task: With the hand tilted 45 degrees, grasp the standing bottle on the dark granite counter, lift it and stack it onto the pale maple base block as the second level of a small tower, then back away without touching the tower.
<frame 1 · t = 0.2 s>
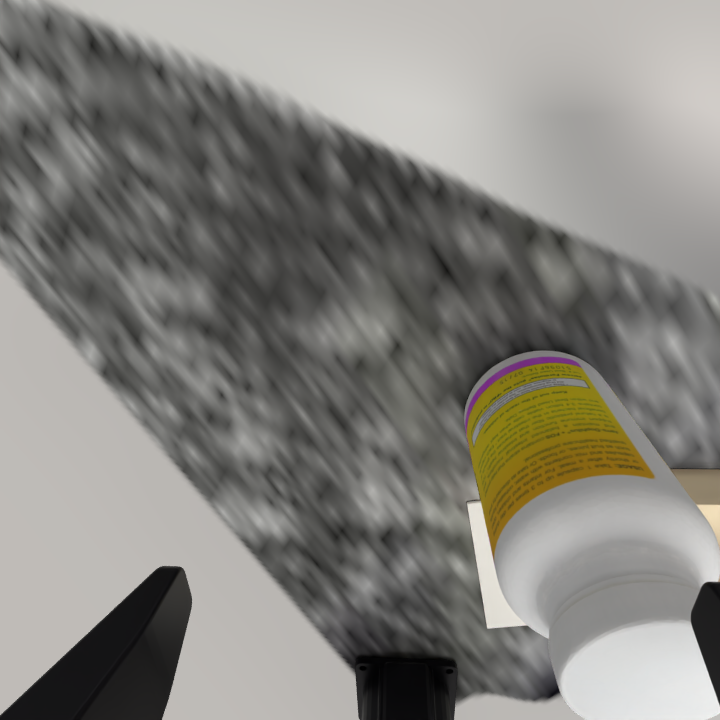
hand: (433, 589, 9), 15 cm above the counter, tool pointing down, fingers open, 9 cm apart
supplement bottle: (532, 406, 25), on the counter
instruction sheet: (550, 561, 29), on the counter
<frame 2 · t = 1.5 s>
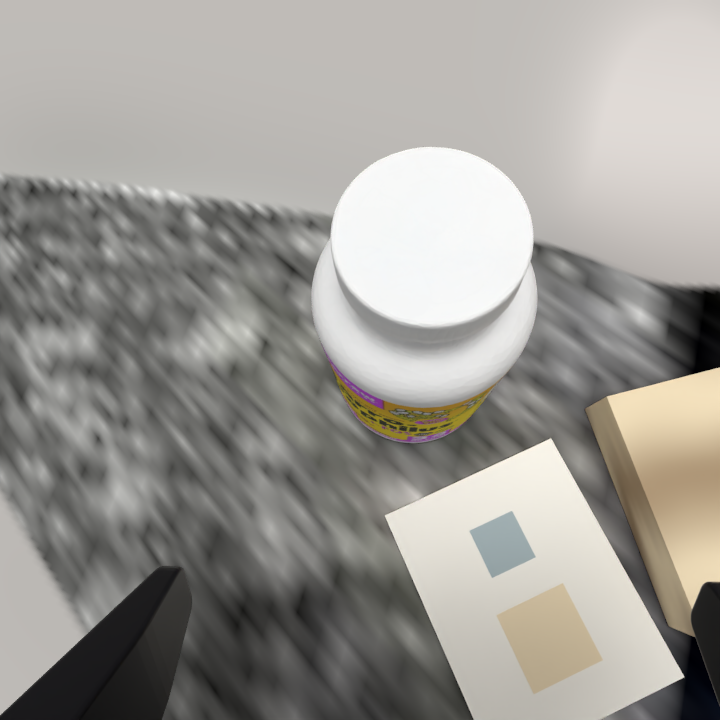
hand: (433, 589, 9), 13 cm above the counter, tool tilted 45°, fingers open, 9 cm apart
supplement bottle: (411, 375, 24), on the counter
instruction sheet: (524, 591, 21), on the counter
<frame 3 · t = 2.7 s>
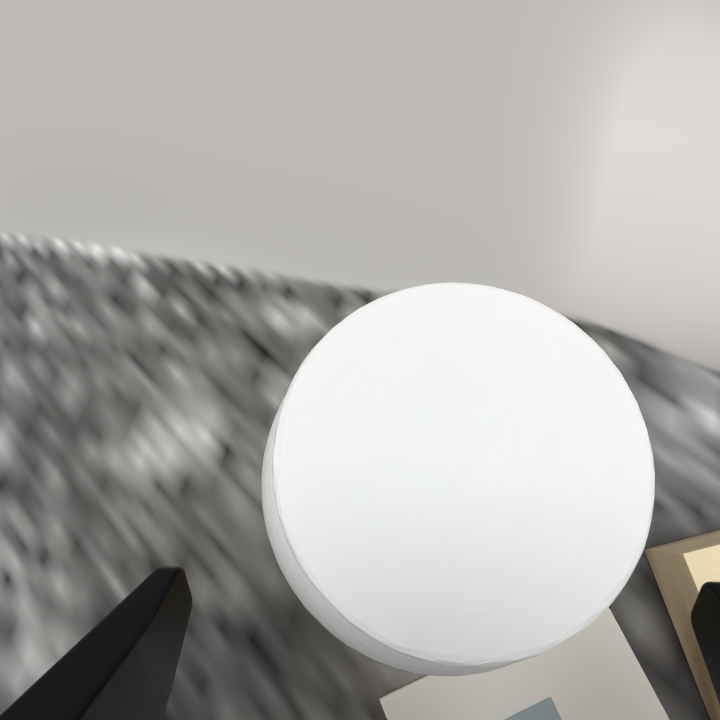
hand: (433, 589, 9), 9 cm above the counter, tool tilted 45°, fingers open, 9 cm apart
supplement bottle: (415, 497, 19), on the counter
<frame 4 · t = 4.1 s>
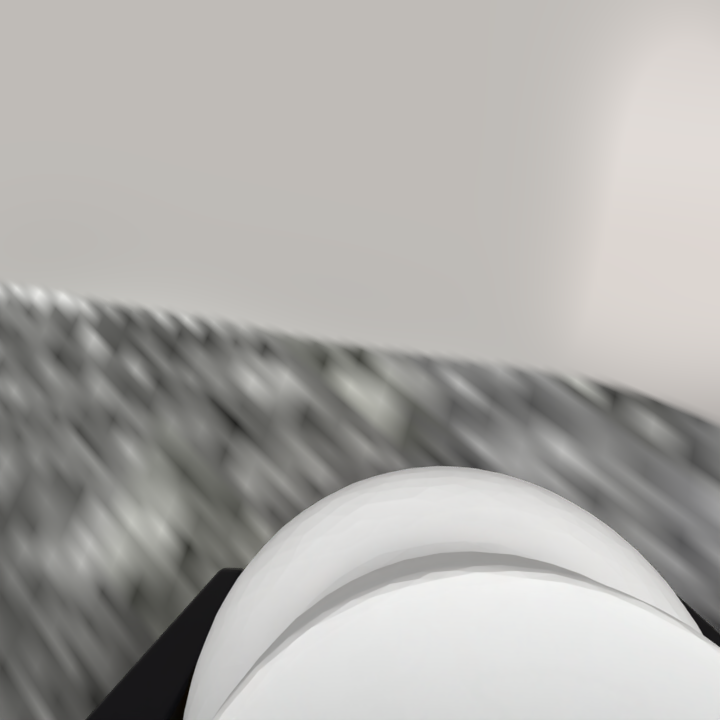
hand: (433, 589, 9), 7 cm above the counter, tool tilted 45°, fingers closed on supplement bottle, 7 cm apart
supplement bottle: (417, 611, 15), on the counter, touching gripper
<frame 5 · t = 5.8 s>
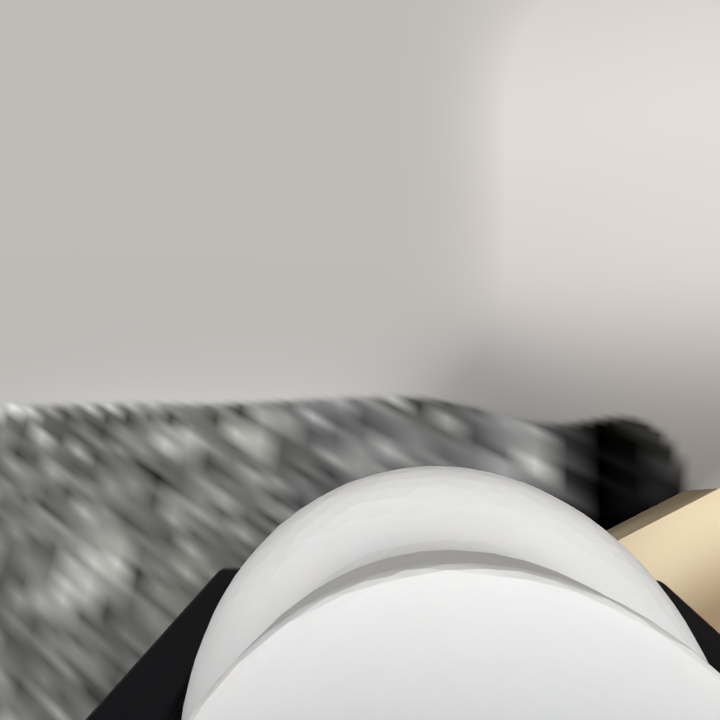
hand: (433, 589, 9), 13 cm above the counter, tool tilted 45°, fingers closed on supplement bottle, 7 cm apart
base block: (653, 649, 20), on the counter
supplement bottle: (423, 608, 15), point 6 cm above the counter, touching gripper
when the fingers open (10 cm above the counter, at t = 7.8 s): supplement bottle stays where it is, resting on base block.
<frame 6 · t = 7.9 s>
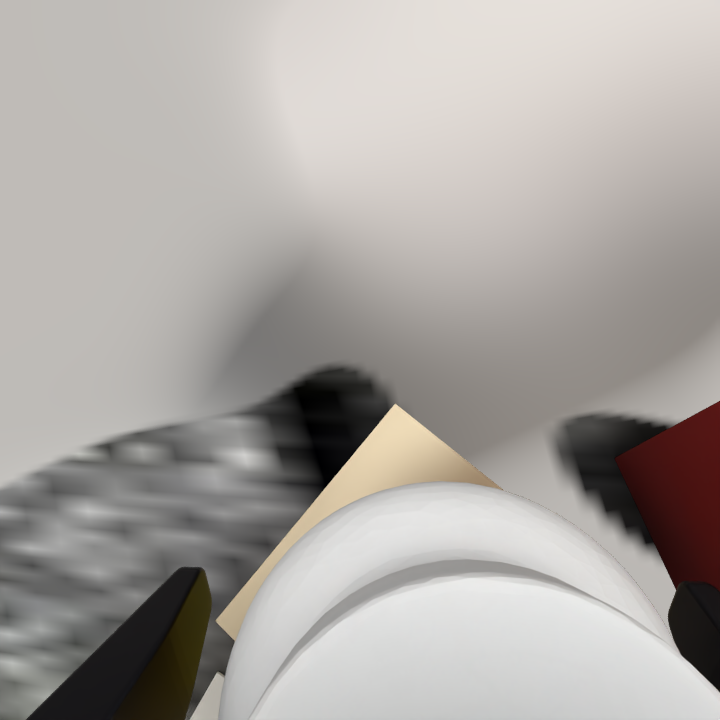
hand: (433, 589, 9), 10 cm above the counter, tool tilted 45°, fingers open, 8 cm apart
base block: (414, 592, 18), on the counter
french fries: (718, 472, 19), on the counter
supplement bottle: (419, 608, 16), point 2 cm above the counter, touching base block
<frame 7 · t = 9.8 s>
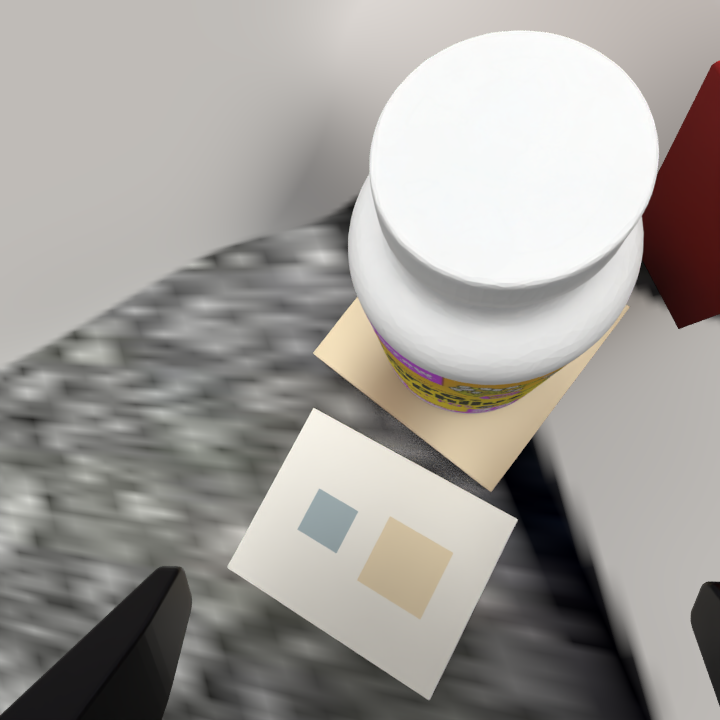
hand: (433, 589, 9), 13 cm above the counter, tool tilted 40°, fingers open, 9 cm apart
base block: (462, 344, 23), on the counter
french fries: (719, 237, 23), on the counter
supplement bottle: (467, 335, 21), point 2 cm above the counter, touching base block
instruction sheet: (368, 543, 22), on the counter
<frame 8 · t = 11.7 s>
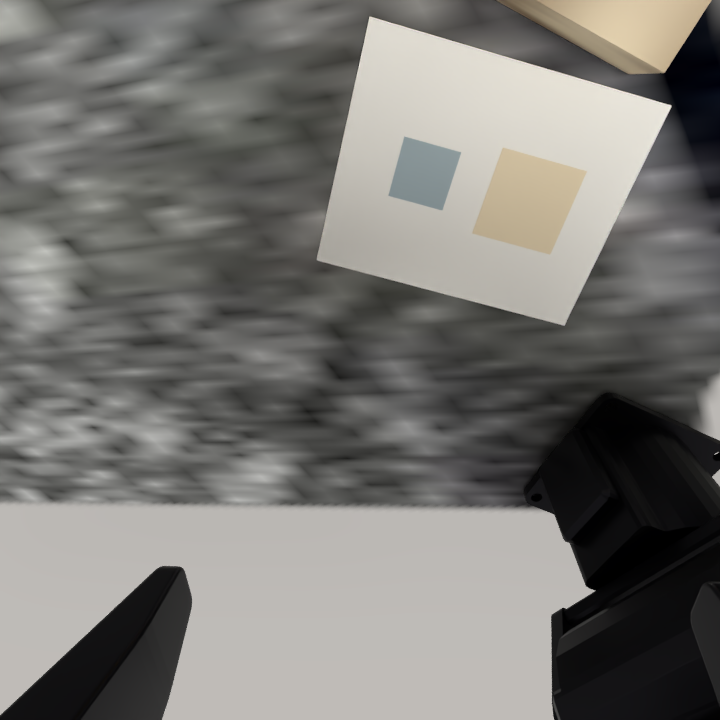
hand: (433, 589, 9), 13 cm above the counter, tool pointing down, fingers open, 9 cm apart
instruction sheet: (478, 188, 18), on the counter
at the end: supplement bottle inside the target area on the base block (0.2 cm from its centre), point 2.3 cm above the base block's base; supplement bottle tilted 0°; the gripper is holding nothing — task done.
